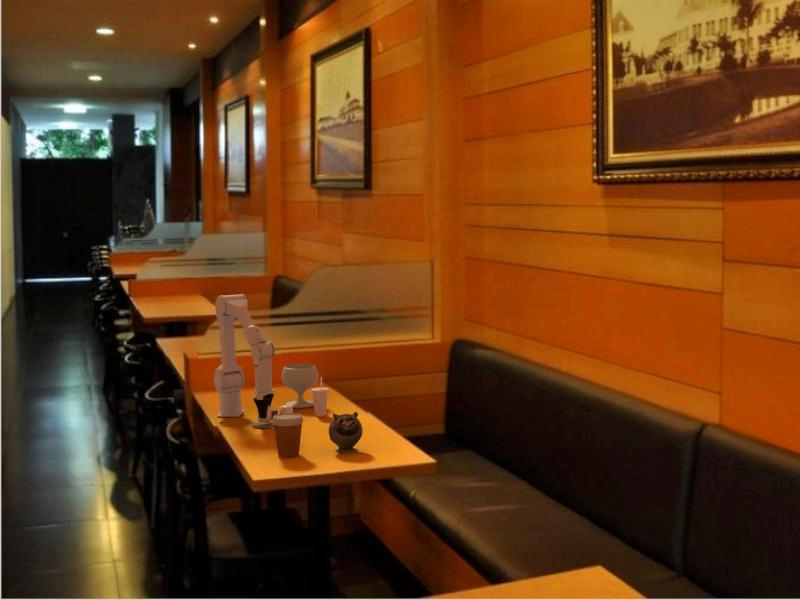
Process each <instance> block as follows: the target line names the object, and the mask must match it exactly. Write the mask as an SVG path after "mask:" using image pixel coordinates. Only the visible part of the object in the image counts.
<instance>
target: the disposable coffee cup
mask: <svg viewBox="0 0 800 600" xmlns="http://www.w3.org/2000/svg"><path fill="white" fill-rule="evenodd" d="M272 422H273V424H274V428H273V429H274V435H275V442H276V443H275V444H276V450H277V451H276V452H277V456H278V457H281V458H295V457H297V456H298V457H299V456H300V447H301V438H302V427H303V423H304V418H303V415H302V414H300V413H283V414H280V413H278V414H277V415H274V416H273V420H272Z"/></svg>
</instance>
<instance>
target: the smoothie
mask: <svg viewBox="0 0 800 600" xmlns="http://www.w3.org/2000/svg"><path fill="white" fill-rule="evenodd" d="M319 378H320V387H313V388H310V393H311V394H312V395H311V396H312V401H313V403H314V406H313V408H314V409H313V410H314V415H316V416H315V417H317V416H323V417H326V416H327V406H328V398H329V397H328V396H329V395H328V394H329V392H330V389H329V388H328V387H323V376H320V377H319ZM325 415H326V416H325Z"/></svg>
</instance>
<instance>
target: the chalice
mask: <svg viewBox="0 0 800 600" xmlns="http://www.w3.org/2000/svg"><path fill="white" fill-rule="evenodd" d="M319 376H320V375H319V371H318V368H317V366H316V365H314V364H312V363H293V364H287V365H285V366H284V367H283V369H282V370H281V382H282V384H283V385H284V386H286V387H287V388H289V389H290V390H293V391H294V392H295V393H296V394H297V396H298V397H297V399H296V400H293V401H289V402H286V403H285V404H284V405H291V406H293V409H298V408H299V409H301V408H302V409H303V408H311V407H314V403H313V400H312V401H311V400H305V399H304V394H305V392H306V391H307V390H309V389H311V387H313V386H315V385H316V384H317V383H318V381H319V378H320V377H319Z"/></svg>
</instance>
